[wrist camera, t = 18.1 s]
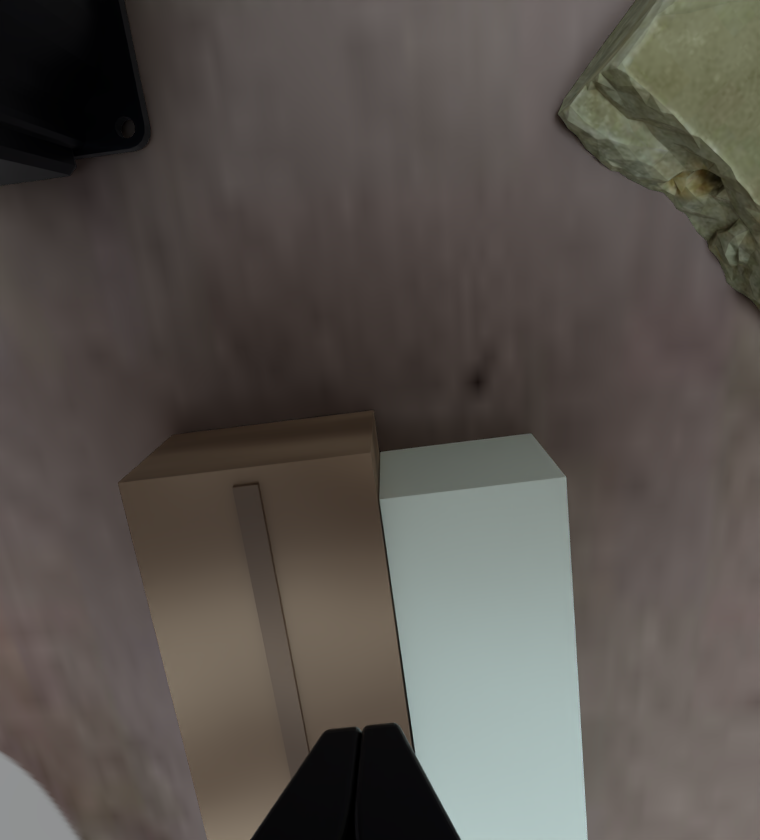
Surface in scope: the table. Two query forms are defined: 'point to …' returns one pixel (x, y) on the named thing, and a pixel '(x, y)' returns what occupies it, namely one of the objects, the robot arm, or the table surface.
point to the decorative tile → (684, 118)
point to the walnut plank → (267, 600)
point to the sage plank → (488, 633)
